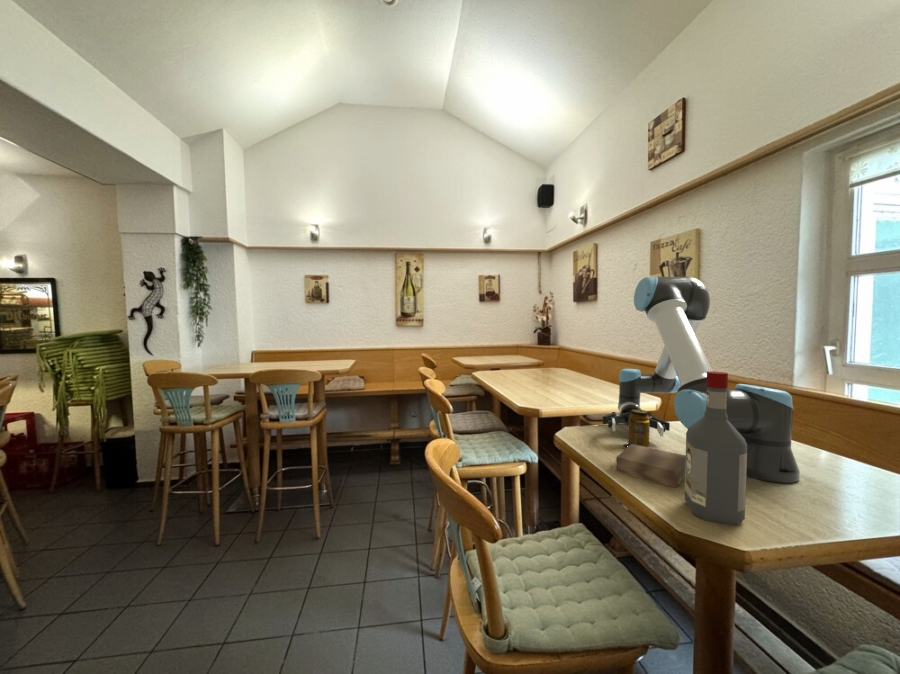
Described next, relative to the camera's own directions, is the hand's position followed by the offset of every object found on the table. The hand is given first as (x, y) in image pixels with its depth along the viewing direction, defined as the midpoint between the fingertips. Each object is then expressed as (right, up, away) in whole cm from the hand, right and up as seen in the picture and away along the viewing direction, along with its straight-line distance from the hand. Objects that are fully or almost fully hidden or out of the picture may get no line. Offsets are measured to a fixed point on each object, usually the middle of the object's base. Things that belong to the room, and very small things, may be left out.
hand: (637, 429), depth 112 cm
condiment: (+1, -7, +2) cm, 7 cm away
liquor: (-4, -8, -37) cm, 38 cm away
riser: (-5, -7, -16) cm, 18 cm away
